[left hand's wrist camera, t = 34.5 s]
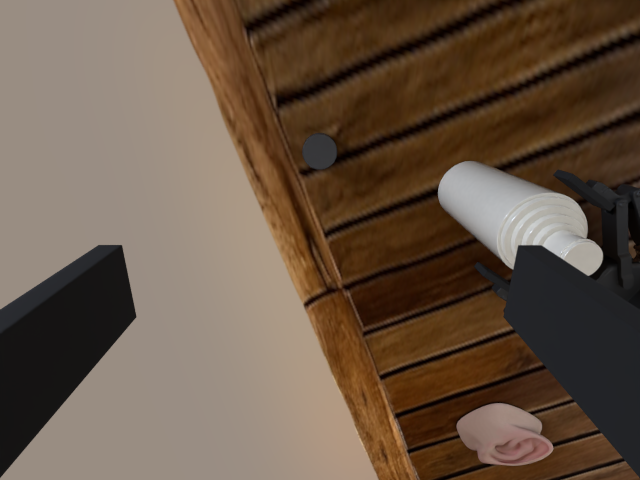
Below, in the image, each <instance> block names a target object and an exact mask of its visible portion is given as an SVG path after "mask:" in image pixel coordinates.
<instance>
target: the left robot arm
mask: <svg viewBox="0 0 640 480" xmlns="http://www.w3.org/2000/svg"><path fill="white" fill-rule="evenodd" d="M135 318H136V313H135V308H134V303H133V298H132V293H131V288H130V283H129V278H128V273H127V268H126V263H125V258H124V253H123V248H122V245H98V246H97V247H95V248H94V249H92V250H91V251H89V252H88V253H86V254H85V255H83V256H81V257H80V258H78V259H77V260H75V261H74V262H72V263H71V264H69V265H68V266H66V267H65V268H63V269H62V270H60V271H59V272H57V273H55V274H54V275H52V276H51V277H49V278H48V279H46V280H45V281H43V282H42V283H40V284H39V285H37V286H36V287H34V288H33V289H31V290H30V291H28V292H26V293H25V294H24V295H22V296H20V297H19V298H17V299H16V300H14V301H13V302H11V303H10V304H8V305H7V306H5V307H4V308H2V309H1V310H0V477H1V476H2V475H3V474H4V473H5V471H6V470H7V469H8V468H9V467H10V466H11V464H12V463H13V462H14V461H15V460H16V459H17V457H18V456H19V455H20V454H21V453H22V451H23V450H24V449H25V448H26V447H27V446H28V444H29V443H30V442H31V441H32V440H33V438H34V437H35V436H36V435H37V434H38V433H39V431H40V430H41V429H42V428H43V427H44V425H45V424H46V423H47V422H48V421H49V420H50V418H51V417H52V416H53V415H54V414H55V412H56V411H57V410H58V409H59V408H60V407H61V405H62V404H63V403H64V402H65V401H66V399H67V398H68V397H69V396H70V395H71V393H72V392H73V391H74V390H75V389H76V388H77V386H78V385H79V384H80V383H81V382H82V381H83V379H84V378H85V377H86V376H87V375H88V373H89V372H90V371H91V370H92V369H93V368H94V366H95V365H96V364H97V363H98V362H99V360H100V359H101V358H102V357H103V356H104V355H105V353H106V352H107V351H108V350H109V349H110V348H111V346H112V345H113V344H114V343H115V342H116V340H117V339H118V338H119V337H120V336H121V335H122V333H123V332H124V331H125V330H126V329H127V327H128V326H129V325H130V324H131V323H132V322H133V320H134V319H135ZM504 318H505V319H506V320H507V322H508V323H509V324H510V325H511V326H512V327H513V329H514V330H515V331H516V332H517V333H518V335H519V336H520V337H521V338H522V339H523V340H524V342H525V343H526V344H527V345H528V346H529V348H530V349H531V350H532V351H533V352H534V353H535V355H536V356H537V357H538V358H539V359H540V361H541V362H542V363H543V364H544V365H545V366H546V368H547V369H548V370H549V371H550V372H551V373H552V375H553V376H554V377H555V378H556V379H557V381H558V382H559V383H560V384H561V385H562V386H563V388H564V389H565V390H566V391H567V392H568V394H569V395H570V396H571V397H572V398H573V399H574V401H575V402H576V403H577V404H578V405H579V407H580V408H581V409H582V410H583V411H584V412H585V414H586V415H587V416H588V417H589V418H590V420H591V421H592V422H593V423H594V424H595V425H596V427H597V428H598V429H599V430H600V431H601V433H602V434H603V435H604V436H605V437H606V438H607V440H608V441H609V442H610V443H611V444H612V446H613V447H614V448H615V449H616V450H617V451H618V453H619V454H620V455H621V456H622V457H623V459H624V460H625V461H626V462H627V463H628V464H629V466H630V467H631V468H632V469H633V470H634V471H635V473H636V474H637V475H638V476H639V477H640V310H639V309H638V308H636V307H635V306H633V305H632V304H630V303H629V302H627V301H626V300H624V299H623V298H621V297H620V296H618V295H617V294H615V293H614V292H612V291H610V290H609V289H607V288H606V287H604V286H603V285H601V284H600V283H598V282H597V281H595V280H594V279H592V278H591V277H589V276H588V275H586V274H585V273H583V272H581V271H580V270H578V269H577V268H575V267H574V266H572V265H571V264H569V263H568V262H566V261H565V260H563V259H562V258H560V257H559V256H557V255H556V254H554V253H552V252H551V251H549V250H548V249H546V248H545V247H543V246H542V245H518V248H517V253H516V258H515V263H514V268H513V273H512V278H511V283H510V288H509V293H508V298H507V303H506V308H505V313H504Z"/></svg>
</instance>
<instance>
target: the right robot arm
mask: <svg viewBox="0 0 640 480" xmlns="http://www.w3.org/2000/svg"><path fill="white" fill-rule="evenodd" d="M554 176H555V177H556V178H558V179H559V180H560V181H562V182H563V183H564V184H566V185H567V186H568V187H570V188H571V189H572V190H574V191H575V192H576V193H578V194H579V195H580V196H582V197H583V198H584V199H586V200H587V201H588V202H590V203H591V204H592V205H594V206H597V207H600V208H601V210H602V235H603V247H602V248H601V250H602V252H603V260H602V263H601V265H600V267H599V268H598V269H597V270H596V271H595V272H594V273H593V274H591V275H589V277H591V278H592V279H594V280H595V281H597V282H598V283H600V284H601V285H603V286H604V287H606V288H607V289H609V290H610V291H612V292H614V293H615V294H617V295H618V296H620V297H621V298H623V299H624V300H626V301H627V302H629V303H630V304H632V305H633V306H635V307H636V308H638V309H639V310H640V188H636V187H633V186H629V185H625V184H623V185H620V186H619V187H618V189H617V191H615V192H613V191H612V190H611V189H609V188H608V187H607V186H605V185H604V184H603V183H600V182H597V181H593V180H588V181H587V183H584V182H583V181H582V180H580V179H579V178H578V177H576V176H575V175H574V174H571V173H568V172H564V171H561V170H557V171H556V172H555V174H554ZM628 228H629V231H630V234H631V237H632V239H633V241H634V243H635V244H636V245H634V247H633V248H634V249H635V251H636V257H635V258H634V259H633V258H632V256H631V255H630V253H629V251H628ZM474 267H475V268H476V269H477V270H478V271H479V272H480V273H481V274H482V275H483V276H484V277H485V278H487V279H488V280H490V281H492V282H493V283H495V284H494V285H493V286H492V287H491V288H492V289H493V291H494V292H495V293H496V294H497V295H498V296H499V297H501V298H502V299H504V300H505V301H507V298H508V293H509V288H510V282H508V281H507V280H505V279H504V278H502V277H501V276H499V275H498V274H496V273H495V272H493V271H491V270H490V269H488V268H487V267H485V266H484V265H482V264H481V263H479V262H478V263H477V264H476V265H475V266H474ZM505 308H506V307H505ZM505 308H504V313H505Z"/></svg>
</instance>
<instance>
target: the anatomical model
mask: <svg viewBox="0 0 640 480" xmlns="http://www.w3.org/2000/svg"><path fill="white" fill-rule="evenodd" d="M457 430H458V433H459V435H460V437H461V439H462V441H463V442H464V443H465V445H466V446H467V447H468V448H470V449H472V450H475V451H477V452H478V458H479V459H480V461H481V462H483V463H488V464H498V465H510V466H518V465H525V464H529V463H533V462H536V461H539V460H541V459H543V458H545V457H546V456H548V455H549V454H550V453H551V452H552V451H553V445H552V443H551V442H550V441H549V440H548V439H547V438H545V437H544V436H542V435H540V432H541V430H542V424H541V422H540V421H539V420H538V419H537V418H536V417H535V416H533V415H531V414H529V413H528V412H526V411H524V410H521V409H519V408H517V407H514V406H511V405H508V404H503V403H494V404H489V405H486V406H483V407H481V408H478V409H476V410H474V411H472V412H470V413H469V414H467V415H465V416H464V417H462V418H461V419H460V420H459V421H458V423H457Z"/></svg>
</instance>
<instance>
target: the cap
mask: <svg viewBox="0 0 640 480" xmlns="http://www.w3.org/2000/svg"><path fill="white" fill-rule="evenodd" d="M336 156H337V148H336V144H335V142H334V140H333V139H332V138H331V137H330V136H328V135H326V134H324V133H316V134H313V135H311V136H310V137H309V138H308V139H307V140H306V141H305V143H304V146H303V158H304V160H305V162H306V163H307V164H308V165H309V166H310V167H312V168H314V169H326V168H328V167H329V166H331V165H332V164H333V163H334V161H335V159H336Z"/></svg>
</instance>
